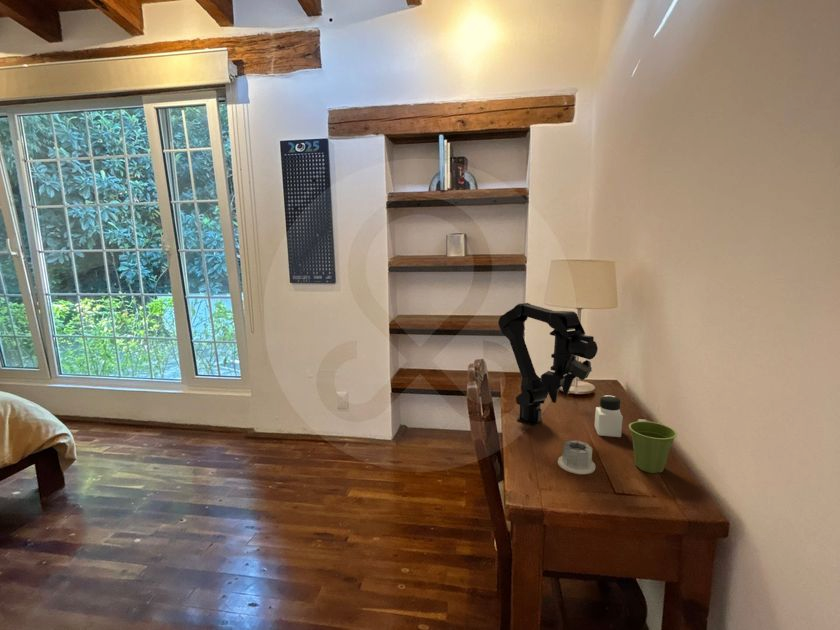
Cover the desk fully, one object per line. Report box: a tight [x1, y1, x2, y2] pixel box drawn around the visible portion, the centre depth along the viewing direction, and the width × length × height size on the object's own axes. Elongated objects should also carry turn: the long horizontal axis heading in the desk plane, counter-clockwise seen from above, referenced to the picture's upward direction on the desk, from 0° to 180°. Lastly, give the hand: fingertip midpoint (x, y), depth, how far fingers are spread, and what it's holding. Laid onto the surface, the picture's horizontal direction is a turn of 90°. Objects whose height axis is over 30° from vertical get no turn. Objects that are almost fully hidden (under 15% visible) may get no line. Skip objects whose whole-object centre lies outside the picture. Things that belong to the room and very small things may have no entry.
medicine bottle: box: [594, 395, 624, 438], centre depth 146 cm, size 7×7×12 cm
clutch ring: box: [561, 440, 593, 470], centre depth 125 cm, size 7×7×5 cm
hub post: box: [557, 448, 596, 475], centre depth 126 cm, size 10×10×5 cm
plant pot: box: [628, 420, 678, 474], centre depth 124 cm, size 12×12×11 cm
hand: (560, 398), depth 143 cm, fingers open, 9 cm apart
